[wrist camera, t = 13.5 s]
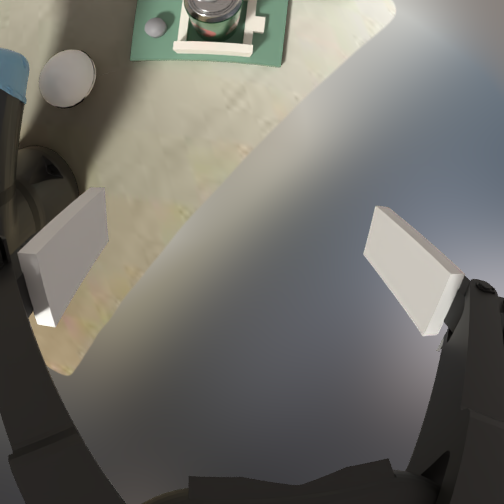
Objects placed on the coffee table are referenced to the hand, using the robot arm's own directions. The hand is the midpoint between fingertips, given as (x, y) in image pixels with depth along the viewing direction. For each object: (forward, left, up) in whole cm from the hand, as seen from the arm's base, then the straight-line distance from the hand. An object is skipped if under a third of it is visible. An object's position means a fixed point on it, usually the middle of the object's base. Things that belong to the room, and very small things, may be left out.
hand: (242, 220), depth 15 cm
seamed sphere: (-19, +8, -27) cm, 34 cm away
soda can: (-3, +15, -26) cm, 30 cm away
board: (-4, +19, -27) cm, 33 cm away
